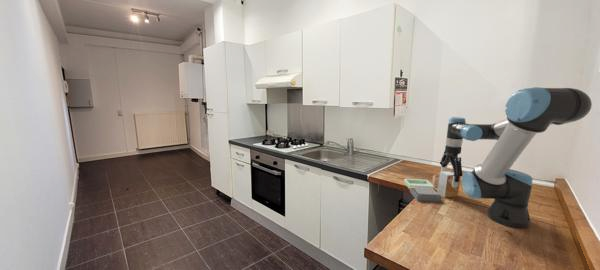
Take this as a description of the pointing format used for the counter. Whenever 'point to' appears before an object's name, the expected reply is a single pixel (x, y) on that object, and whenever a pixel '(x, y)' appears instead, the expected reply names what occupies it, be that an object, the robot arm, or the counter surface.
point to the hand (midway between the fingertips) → (448, 182)
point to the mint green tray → (417, 183)
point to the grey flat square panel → (425, 190)
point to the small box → (447, 185)
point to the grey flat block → (424, 196)
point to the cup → (435, 180)
